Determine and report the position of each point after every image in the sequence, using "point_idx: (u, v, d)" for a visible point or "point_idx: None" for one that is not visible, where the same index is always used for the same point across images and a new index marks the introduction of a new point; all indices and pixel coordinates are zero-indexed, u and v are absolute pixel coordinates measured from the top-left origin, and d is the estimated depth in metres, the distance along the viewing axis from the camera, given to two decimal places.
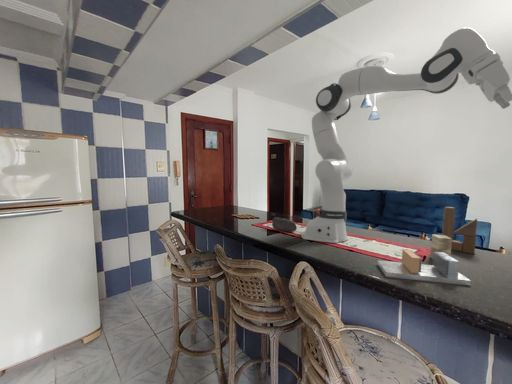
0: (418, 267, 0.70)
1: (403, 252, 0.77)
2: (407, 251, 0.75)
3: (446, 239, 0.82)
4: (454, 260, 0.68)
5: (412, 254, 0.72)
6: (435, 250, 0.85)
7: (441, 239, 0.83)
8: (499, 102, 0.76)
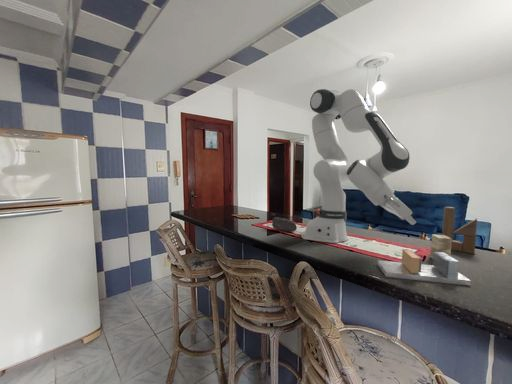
0: (418, 267, 0.70)
1: (403, 252, 0.77)
2: (407, 251, 0.75)
3: (446, 239, 0.82)
4: (454, 260, 0.68)
5: (412, 254, 0.72)
6: (435, 250, 0.85)
7: (441, 239, 0.83)
8: None
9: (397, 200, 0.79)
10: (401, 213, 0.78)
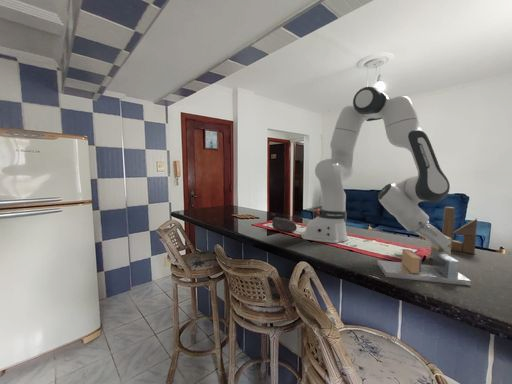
0: (418, 267, 0.70)
1: (403, 252, 0.77)
2: (407, 251, 0.75)
3: None
4: (454, 260, 0.68)
5: (412, 254, 0.72)
6: (435, 250, 0.85)
7: None
8: None
9: (435, 229, 0.77)
10: (439, 243, 0.76)
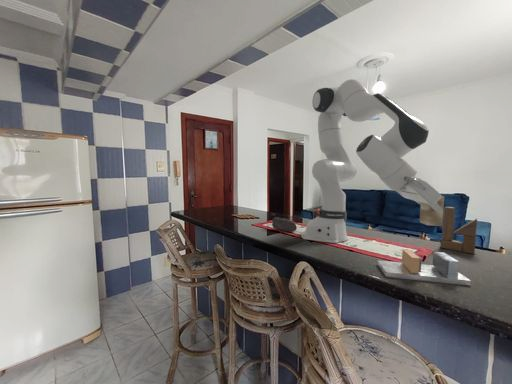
0: (418, 267, 0.70)
1: (403, 252, 0.77)
2: (407, 251, 0.75)
3: None
4: (454, 260, 0.68)
5: (412, 254, 0.72)
6: (424, 212, 0.71)
7: None
8: None
9: (422, 181, 0.63)
10: (427, 197, 0.62)
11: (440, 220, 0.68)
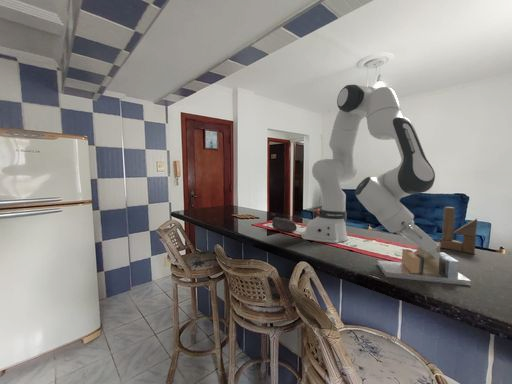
0: (418, 267, 0.70)
1: (403, 252, 0.77)
2: (407, 251, 0.75)
3: None
4: (454, 260, 0.68)
5: (412, 254, 0.72)
6: None
7: None
8: None
9: (419, 230, 0.64)
10: (424, 246, 0.63)
11: (436, 268, 0.70)
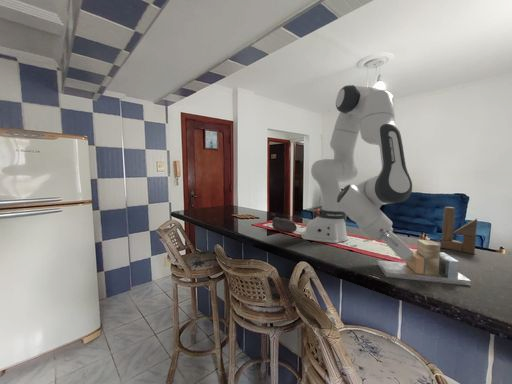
0: (422, 267, 0.69)
1: None
2: None
3: (433, 246, 0.69)
4: (454, 260, 0.68)
5: (416, 254, 0.72)
6: None
7: (428, 246, 0.70)
8: None
9: (395, 238, 0.66)
10: (400, 254, 0.65)
11: (436, 268, 0.70)
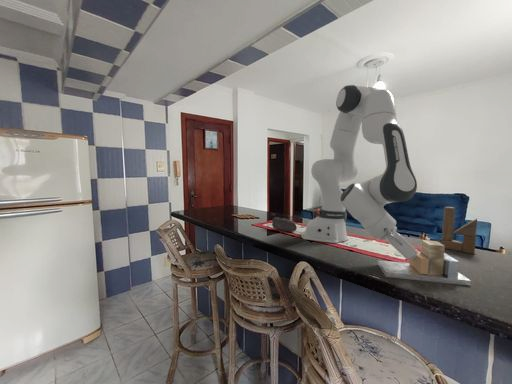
0: (427, 268, 0.69)
1: None
2: None
3: (438, 246, 0.69)
4: (454, 260, 0.68)
5: (421, 255, 0.72)
6: None
7: (432, 246, 0.69)
8: None
9: (399, 237, 0.66)
10: (404, 253, 0.65)
11: (441, 269, 0.69)
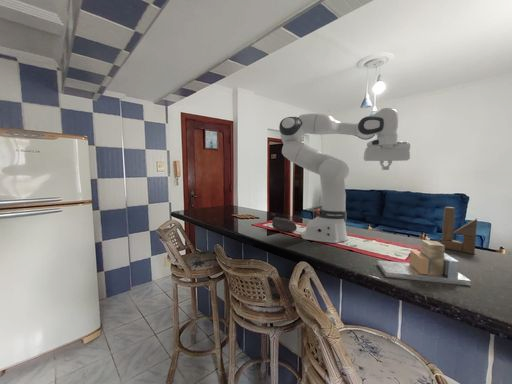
0: (427, 268, 0.69)
1: (411, 253, 0.76)
2: (415, 252, 0.75)
3: (438, 246, 0.69)
4: (454, 260, 0.68)
5: (421, 255, 0.72)
6: None
7: (432, 246, 0.69)
8: None
9: None
10: None
11: (441, 269, 0.69)
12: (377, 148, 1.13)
